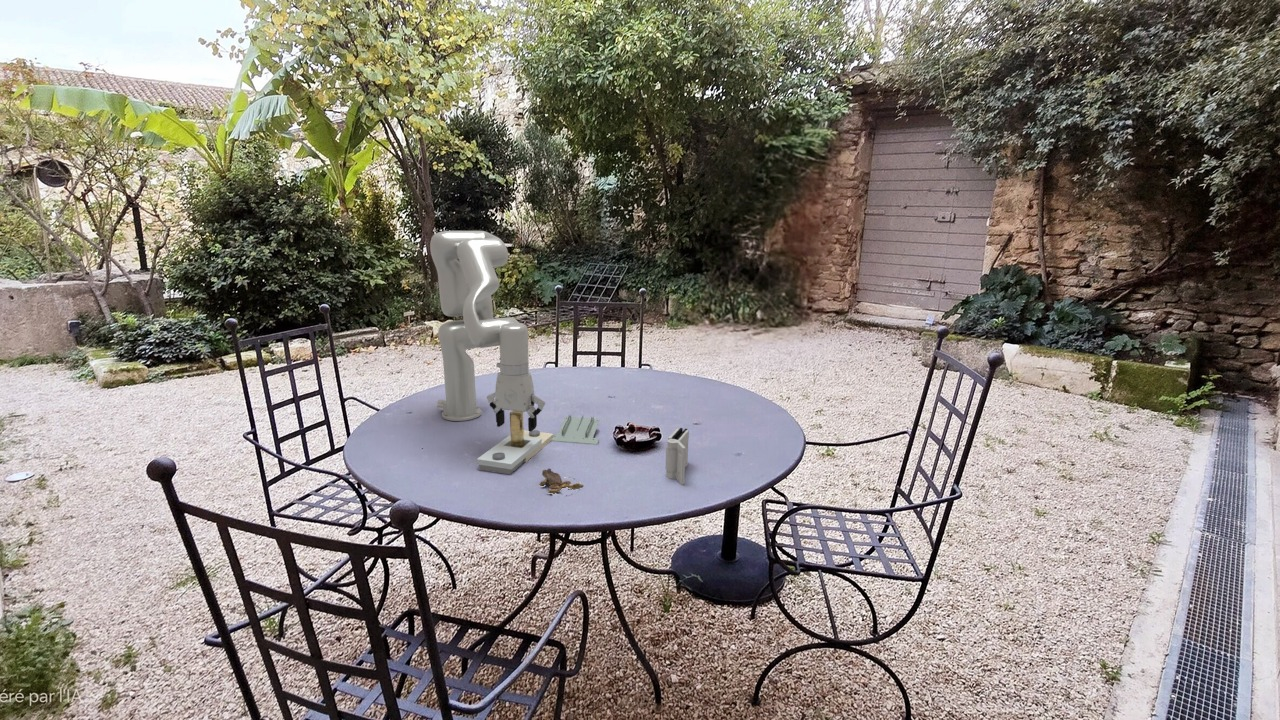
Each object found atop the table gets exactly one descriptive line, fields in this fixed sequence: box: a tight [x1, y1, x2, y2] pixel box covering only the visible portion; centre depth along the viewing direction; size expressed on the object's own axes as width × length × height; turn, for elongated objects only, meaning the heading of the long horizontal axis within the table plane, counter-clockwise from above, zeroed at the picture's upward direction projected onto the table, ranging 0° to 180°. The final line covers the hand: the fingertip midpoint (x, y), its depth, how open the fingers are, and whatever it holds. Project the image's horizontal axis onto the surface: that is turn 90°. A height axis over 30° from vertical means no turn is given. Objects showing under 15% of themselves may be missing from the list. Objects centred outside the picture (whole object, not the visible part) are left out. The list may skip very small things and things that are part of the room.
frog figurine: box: [538, 468, 585, 494], centre depth 146 cm, size 12×12×4 cm
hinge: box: [665, 427, 690, 486], centre depth 154 cm, size 14×5×10 cm, turn 172°
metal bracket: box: [550, 414, 600, 446], centre depth 179 cm, size 14×6×15 cm
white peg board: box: [476, 429, 554, 475], centre depth 165 cm, size 26×10×4 cm, turn 164°
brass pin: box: [509, 410, 525, 448], centre depth 164 cm, size 4×4×12 cm
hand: (516, 427), depth 164 cm, fingers open, 9 cm apart
